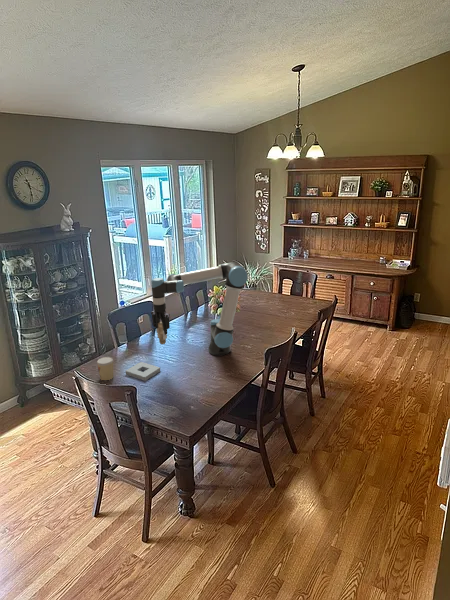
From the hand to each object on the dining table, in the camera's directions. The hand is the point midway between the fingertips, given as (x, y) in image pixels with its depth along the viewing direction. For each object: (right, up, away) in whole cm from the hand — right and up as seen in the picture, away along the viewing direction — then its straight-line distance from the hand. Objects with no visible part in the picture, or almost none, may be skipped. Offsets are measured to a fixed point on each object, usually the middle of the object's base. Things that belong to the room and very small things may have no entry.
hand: (162, 337), depth 257 cm
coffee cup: (-33, -24, -8) cm, 41 cm away
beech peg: (0, -4, +1) cm, 4 cm away
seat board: (-12, -22, -3) cm, 25 cm away
